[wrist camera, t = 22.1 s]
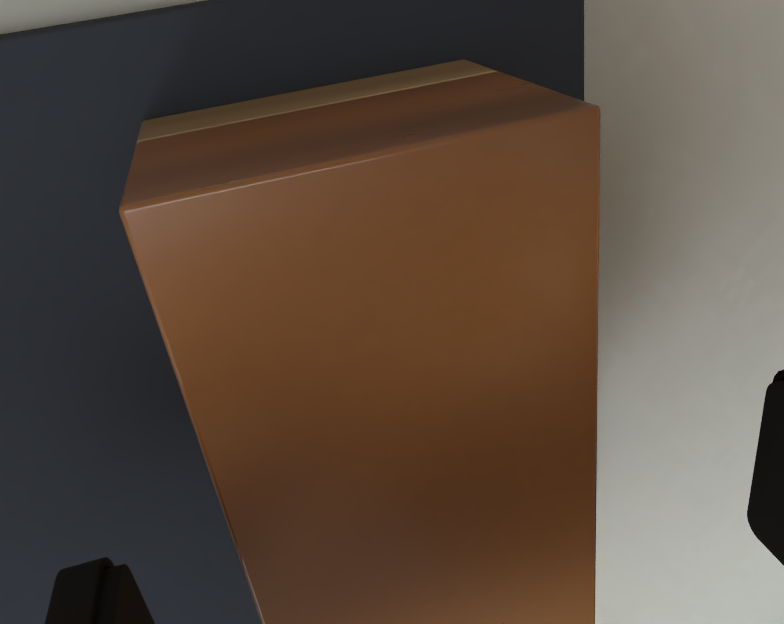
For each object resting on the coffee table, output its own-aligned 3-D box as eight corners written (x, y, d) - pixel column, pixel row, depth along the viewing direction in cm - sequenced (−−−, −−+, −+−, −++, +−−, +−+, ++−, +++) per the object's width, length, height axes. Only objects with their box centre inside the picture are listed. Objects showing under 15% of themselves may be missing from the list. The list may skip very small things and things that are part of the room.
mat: (563, -59, 12) (585, -60, 11) (570, 515, 19) (585, 536, 18) (-497, 116, 10) (-550, 128, 9) (-49, 711, 16) (-60, 744, 16)
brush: (140, 120, 11) (116, 207, 7) (466, 57, 12) (602, 105, 8) (285, 588, 16) (316, 784, 12) (502, 520, 17) (595, 683, 13)
